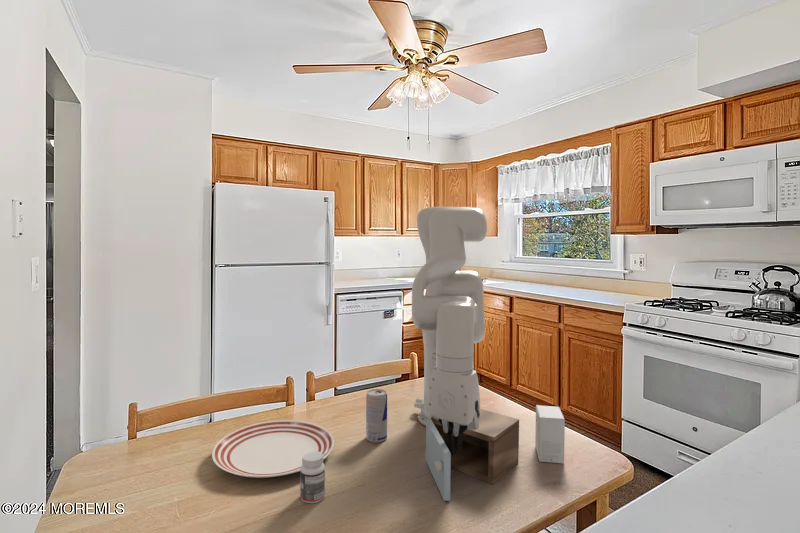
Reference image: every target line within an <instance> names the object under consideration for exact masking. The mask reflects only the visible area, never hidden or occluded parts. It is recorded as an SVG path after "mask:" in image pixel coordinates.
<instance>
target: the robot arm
mask: <svg viewBox="0 0 800 533" xmlns="http://www.w3.org/2000/svg"><path fill="white" fill-rule="evenodd" d="M416 217H417V218H416V225H417V226H416V227H417V233H418V236H419V239H420V241H421V242H420V243H421V245H422V248H423V250H424V254H425V263H424V264H423V266H422V267H421V268H420V269H419V271H418V272H417V274H416V275H415V277H414V279H413V282H412V288H411V317H412V323H413V324H414V326H415V327H416V328H417V329H419V330H421V335H422V341H423V342H422V343H423V356H424V357H423V358H424V359H423V364H424V365H423V369H424V371H423V375H424V376H423V378H424V380H423V398H420V397H417V398H416V399H415V402H414V404H413V406H414V408H417V409H420V412H419V413H418V417H417V418H418V421H419V423H420V424H421V425H422V426H425V427H426V420H431V417H433V418H434V419H436V420H438V421H439V422H440V424H441V425H442V427H443V431H444V432H445V433H446V446H447V447H448V449H449V451H450V453H451V454H452V455H455V454H456V453H458V452H459V451H460V450H461V449H462V433H463V432H465V431H466V430H476V429H478V428H479V423H478V418H479V417H480V409H481V395H480V394H481V393H480V385H479V384H480V383H479V377H478V373H477V371H476V370H474V368H475V367H474V365H475V363H474V360H475V356H474V355H475V354H474V353H475V344H477V343H480V342H482V341H483V340H484V337H485V333H486V332H485V330H486V328H485V327H486V325H485V320H486V319H485V295H484V294H485V293H484V292H485V291H484V283H483V279H482V276H481V275H480V273H478V272H477V271H475V270H461V269H463V268H464V266H465V264H466V262H467V261H466V260H467V256H466V249H465V247H466V246H465V242H468V243H469V242H472V243H473V242H474V243H475V242H476V243H477V242H478V243H479V242H483V240H485V238H486V236H487V232H488V221H487V216H486V215H485V213H484V211H483V210H482V209H481V208H478V207H476V206H430V207H426V208H425V207H424V208H423V209H421V210H419V212H418V214H417V216H416ZM425 290H426V295H425Z"/></svg>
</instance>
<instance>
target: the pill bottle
mask: <svg viewBox="0 0 800 533" xmlns="http://www.w3.org/2000/svg"><path fill="white" fill-rule="evenodd" d="M325 467H326V466H325V463H324V460H323V454H322V453H321V452H318V451H312V452H308V453H305V454H304V455H303V457H302V465H301V468H300V471H299V473H300V474H299V477H300V478H299V479H300V480H299V484H300V486H299V487H300V490H299V491H300V495H299V496H300V499H301V501H302V502H303V503H306V504H316V503H319V502H321V501H322V500H323V499H324V498H325V497H326V496H325V495H326V474H325V473H326V468H325Z"/></svg>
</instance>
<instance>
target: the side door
mask: <svg viewBox="0 0 800 533" xmlns="http://www.w3.org/2000/svg"><path fill="white" fill-rule="evenodd" d="M425 461H426V464H427V466H428V468H429V471H430V473H431V475H432V477H433V480H434V482H435V484H436V486H437V488H438V491H439V492H440V495H441V497H442V500H443V502H446V501H451V469H452V468H451V453H450V451H449V449H448V447H447V446H446V444H445V442H444V441H443V439H442V437H441V436H440V434H439V432H438V430H437V429H436V427H435V425H434V424H433V422H432V420H426V426H425Z"/></svg>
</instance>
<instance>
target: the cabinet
mask: <svg viewBox="0 0 800 533" xmlns="http://www.w3.org/2000/svg"><path fill="white" fill-rule="evenodd" d="M431 420H432V422H433V424H434V425H435V427H436V429H437V430H438V432H439V434H440V436H441V437H442V439H443V441H444V442H445V444H446V433H445V432H444V431H443V427H442V425H441V424H440V422H439V421H438V420H436V419H434V418H433V417H431ZM478 423H479V428H478V429H476V430H466V431H465V432H463V433H462V449H461V450H460V451H459V452H458V453H456V454H455V455H452V454H451V469H453V470H456V471H458V472H461V473H463V474H466V475H468V476H471V477H473V478H476V479H478V480H480V481H483V482H485V483H488V484H492V485H494V484H496V482H498V481H500V479H501V478H503V476H505V475H506V474H507V473H508V472H509V471H510V470H512V468H514V467H515V466H516V465H517V464H519V458H520V457H519V456H520V454H519V448H520V443H519V442H520V418H515V417H512V416H509V415H508V416H507V415H504V414H500V413H497V412H493V411H491V410H487V409H482V408H480V417H479V418H478Z"/></svg>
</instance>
